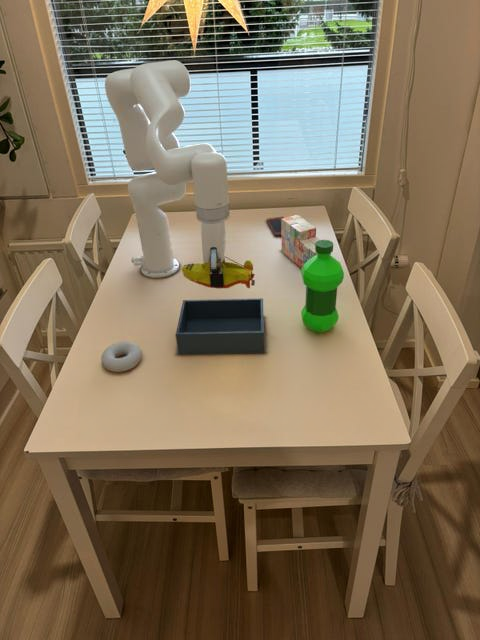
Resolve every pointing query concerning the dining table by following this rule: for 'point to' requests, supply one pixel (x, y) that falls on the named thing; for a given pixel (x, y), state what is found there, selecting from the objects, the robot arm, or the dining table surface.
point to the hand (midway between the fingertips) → (218, 278)
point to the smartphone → (275, 225)
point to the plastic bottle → (321, 288)
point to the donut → (121, 363)
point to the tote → (221, 326)
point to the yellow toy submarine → (230, 273)
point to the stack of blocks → (298, 239)
